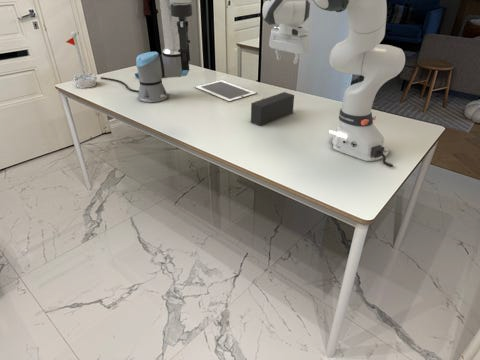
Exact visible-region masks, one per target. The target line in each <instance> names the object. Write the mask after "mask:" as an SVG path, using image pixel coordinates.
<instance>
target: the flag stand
mask: <svg viewBox="0 0 480 360" xmlns="http://www.w3.org/2000/svg"><path fill="white" fill-rule="evenodd" d="M70 35H71V38H69V39H68V40H66V41H65V43H67V44H69V45H73V46H75V50H76V54H77V58H78V62H79V66H80V70H81V73H78V74H77V75H76V74H75V75H73V76H72V80H73V82H74V83H75V84H76V87H77V88H79V89H80V88H81V89H87V88H93V87H95V86H96V85H97V81H98V77H97V74H96V73H92V72H85V68H84V67H85V66H84V63H83V59H82V55H81V51H80V47H79V42H78V39H77V36H78V34H77V32H76V31H71V32H70Z"/></svg>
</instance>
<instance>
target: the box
mask: <svg viewBox="0 0 480 360" xmlns="http://www.w3.org/2000/svg"><path fill="white" fill-rule="evenodd" d="M294 102H295V94H292V93H289V92H286V91H283V92H280V93H277V94H275V95H272V96H269V97H265V98H263V99H259V100H256V101H254V102H251V103H250V122H251V123H253V124H254V125H257V126H260V127H262V126H264V125H266V124H269V123H272V122H274V121H277V120H279V119H281V118H284V117H286V116H287V117H288V116H290V115H291V114H294Z"/></svg>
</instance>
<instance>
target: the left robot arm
mask: <svg viewBox="0 0 480 360" xmlns="http://www.w3.org/2000/svg"><path fill="white" fill-rule="evenodd" d="M191 3H192V0H159V7H160V8H159V9H160V15H161V24H162V33H163V42H164V48H163V49H162V54H160V53H159V52H157V51H148V52H144V53H140V54H139V55H137V56H136V58H135V63H136V66H135V67H136V68H137V73H138V75H139V78H138V81H139V89H138V90H137V89H132V88H129V87H128V85H127V84H126V83H125V82H123V81H122V80H119V79H116V78H111V77H110V78H109V77H103V76H101V77H100V79H103V80H108V81H113V82H118V83H121V84H122V85H124V86H125V88H126V89H127V90H128V91H131V92H136V93H138V101H140V102H142V103H149V104H151V103H159V102H162V101H165V100H166V99H167V98H168V94H167V90H166V88H165V86H164V84H163V80H162V79H170V78H182V77H187V75H188V74H189V71H190V61H191V57H190V56H191V55H190V44H191V39H190V38H189V34H188V33H189V21H188V20H187V18H189V17H192V16H193V5H192V4H191Z"/></svg>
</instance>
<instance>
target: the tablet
mask: <svg viewBox="0 0 480 360" xmlns="http://www.w3.org/2000/svg"><path fill="white" fill-rule="evenodd" d="M194 88H195V89H198V90H201V91H203V92H205V93H207V94H209V95H212V96H214V97H216V98H219V99H221V100H224V101H226V102H233V101H236V100H240V99H244V98H247V97H249V96H253V95H256V94H257V93H258V92H256V91H253V90H250V89H247V88H244V87H243V86H239V85H237V84H234V83H231V82H229V81H225V80H223V79H221V80H216V81H213V82H208V83H204V84H201V85H196V86H194Z"/></svg>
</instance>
